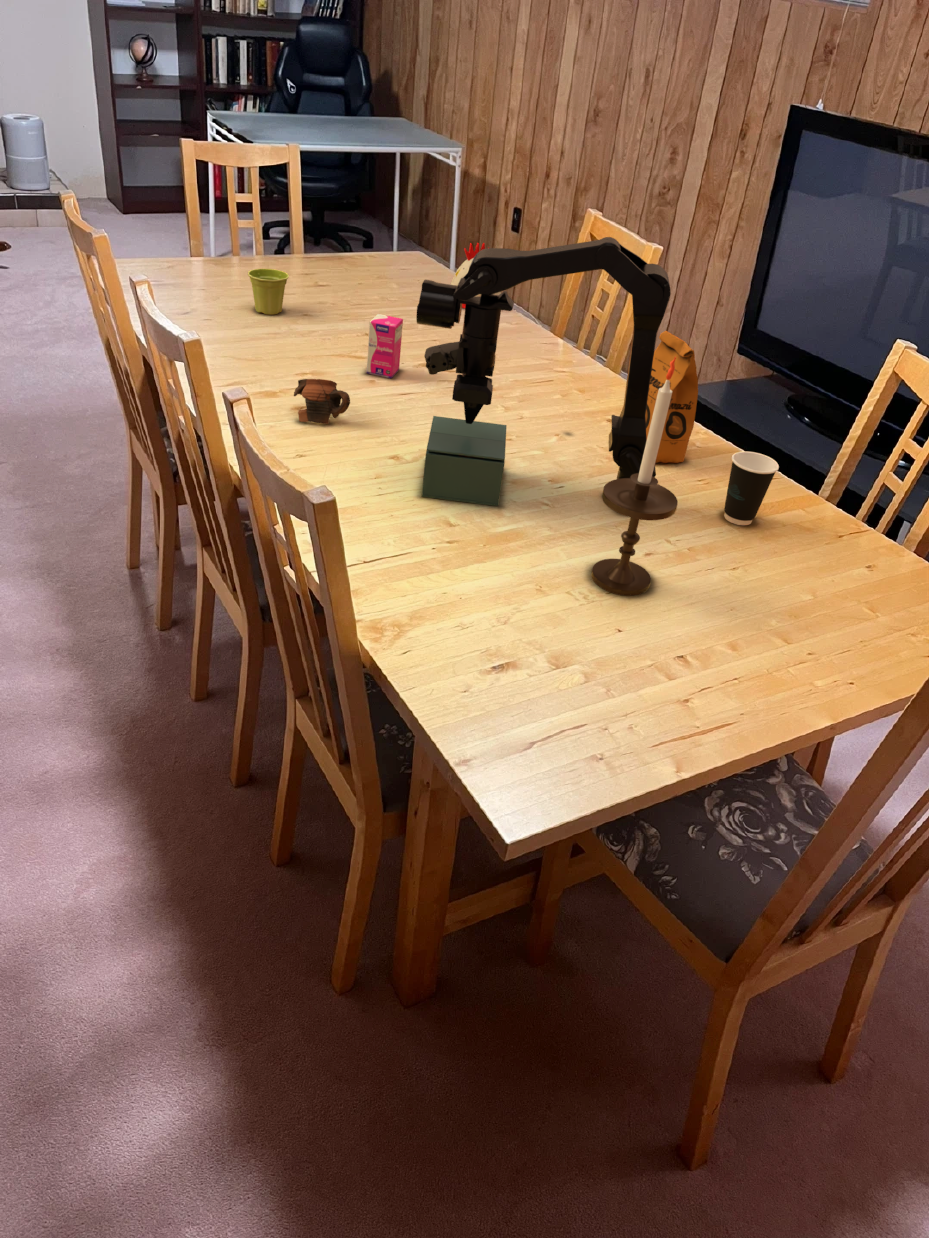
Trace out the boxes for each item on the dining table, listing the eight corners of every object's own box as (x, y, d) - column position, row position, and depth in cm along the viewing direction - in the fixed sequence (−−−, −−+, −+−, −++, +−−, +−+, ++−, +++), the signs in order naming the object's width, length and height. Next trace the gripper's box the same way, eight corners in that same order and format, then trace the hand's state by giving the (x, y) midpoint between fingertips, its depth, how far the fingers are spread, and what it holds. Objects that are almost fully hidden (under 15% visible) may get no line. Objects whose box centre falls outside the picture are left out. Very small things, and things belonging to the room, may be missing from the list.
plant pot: (243, 305, 235) (243, 268, 230) (282, 304, 238) (282, 267, 234) (254, 318, 228) (253, 280, 223) (293, 317, 232) (293, 279, 227)
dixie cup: (710, 521, 169) (727, 463, 163) (720, 503, 175) (736, 447, 169) (756, 534, 167) (775, 476, 160) (764, 516, 173) (782, 459, 167)
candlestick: (609, 553, 156) (658, 338, 136) (668, 581, 151) (728, 362, 131) (571, 577, 149) (617, 353, 129) (632, 607, 143) (689, 379, 124)
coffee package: (644, 465, 185) (671, 352, 172) (619, 437, 194) (643, 328, 182) (691, 465, 187) (721, 353, 175) (664, 437, 197) (691, 329, 185)
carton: (421, 496, 164) (426, 449, 160) (428, 461, 176) (433, 415, 171) (498, 506, 165) (505, 459, 160) (500, 470, 176) (506, 424, 171)
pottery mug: (282, 422, 184) (284, 377, 183) (308, 428, 193) (310, 386, 192) (339, 421, 179) (340, 376, 179) (363, 428, 188) (364, 384, 188)
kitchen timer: (441, 293, 260) (447, 234, 252) (490, 294, 264) (497, 236, 256) (456, 310, 250) (463, 249, 241) (507, 311, 254) (515, 251, 245)
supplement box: (365, 374, 207) (368, 321, 200) (374, 365, 212) (377, 312, 205) (391, 379, 206) (395, 326, 200) (399, 370, 211) (403, 318, 204)
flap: (429, 433, 166) (430, 431, 165) (433, 417, 171) (433, 415, 171) (505, 443, 166) (505, 441, 166) (506, 426, 171) (506, 425, 171)
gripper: (435, 308, 165) (426, 396, 174) (425, 345, 149) (416, 439, 158) (500, 317, 165) (488, 404, 174) (497, 355, 150) (484, 448, 159)
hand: (468, 423), depth 166 cm, fingers closed
